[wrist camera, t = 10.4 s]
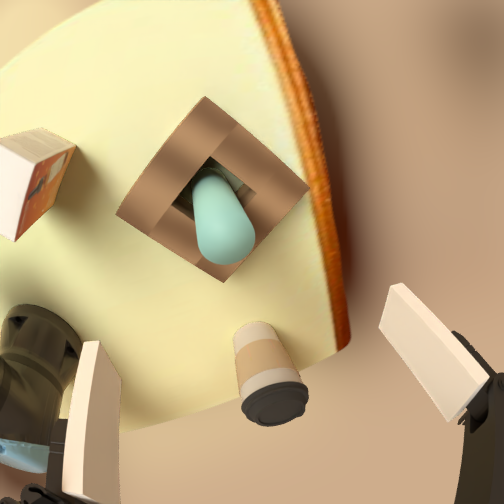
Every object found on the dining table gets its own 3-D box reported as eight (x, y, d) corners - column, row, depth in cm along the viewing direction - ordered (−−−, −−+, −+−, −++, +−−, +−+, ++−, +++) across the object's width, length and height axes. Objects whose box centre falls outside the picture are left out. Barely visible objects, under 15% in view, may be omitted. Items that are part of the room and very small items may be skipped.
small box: (54, 205, 28) (14, 245, 19) (20, 186, 26) (-27, 220, 17) (78, 144, 26) (36, 164, 17) (42, 125, 24) (-9, 139, 15)
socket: (218, 260, 37) (223, 282, 33) (124, 198, 30) (115, 214, 26) (293, 176, 34) (310, 188, 29) (202, 97, 27) (205, 96, 23)
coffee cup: (223, 357, 46) (241, 436, 33) (228, 317, 42) (250, 403, 29) (275, 354, 48) (303, 426, 35) (286, 314, 44) (323, 392, 31)
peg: (211, 208, 33) (230, 273, 21) (184, 188, 31) (185, 245, 20) (233, 181, 32) (266, 233, 20) (206, 160, 31) (223, 200, 19)
